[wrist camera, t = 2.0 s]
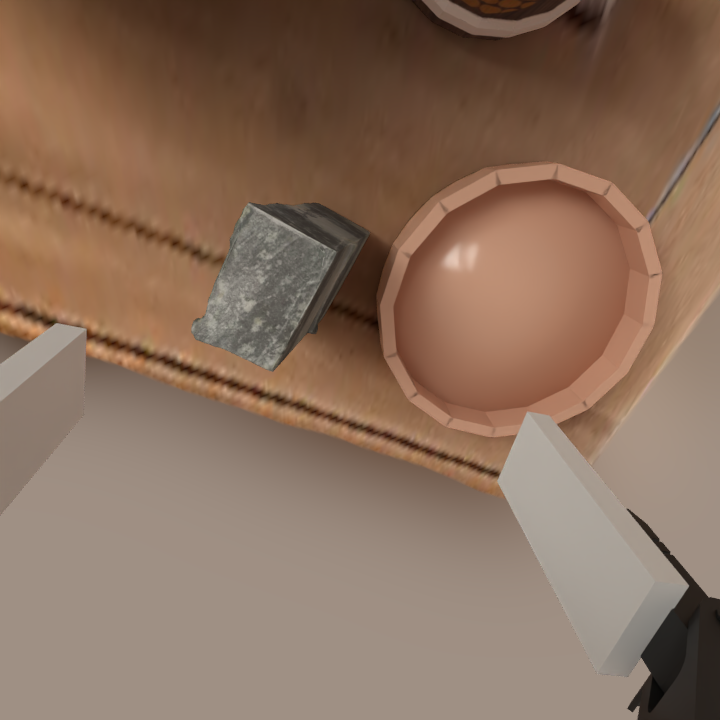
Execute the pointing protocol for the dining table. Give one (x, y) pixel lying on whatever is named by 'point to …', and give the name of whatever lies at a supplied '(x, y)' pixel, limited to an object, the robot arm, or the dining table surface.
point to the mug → (493, 15)
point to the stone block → (278, 279)
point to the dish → (517, 296)
